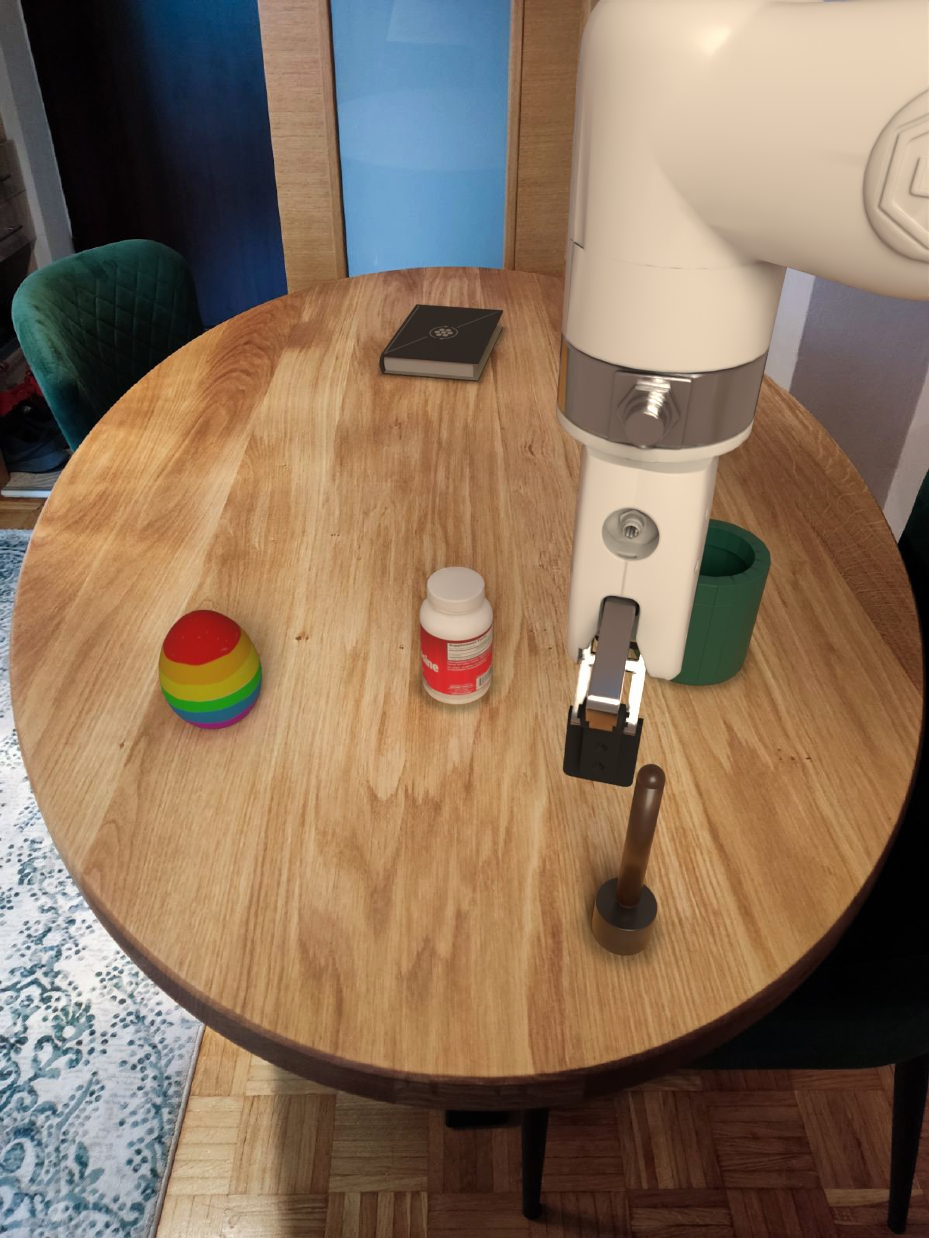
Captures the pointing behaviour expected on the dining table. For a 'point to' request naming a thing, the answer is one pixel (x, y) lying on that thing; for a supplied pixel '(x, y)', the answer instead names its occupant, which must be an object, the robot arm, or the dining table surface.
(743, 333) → the robot arm
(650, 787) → the brown pestle
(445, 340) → the book
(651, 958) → the dining table surface
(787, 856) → the dining table surface
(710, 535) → the jar
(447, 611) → the pill bottle
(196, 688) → the decorative egg
